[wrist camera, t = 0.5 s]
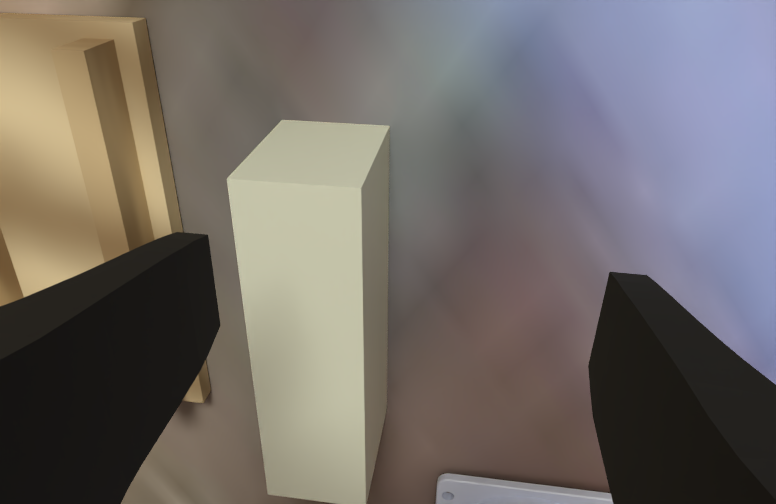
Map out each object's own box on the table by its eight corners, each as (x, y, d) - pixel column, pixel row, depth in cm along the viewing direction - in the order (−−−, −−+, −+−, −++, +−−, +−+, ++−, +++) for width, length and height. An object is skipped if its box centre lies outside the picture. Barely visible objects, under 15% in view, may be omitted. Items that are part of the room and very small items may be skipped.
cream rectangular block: (387, 405, 26) (365, 507, 22) (305, 396, 26) (267, 494, 22) (390, 124, 20) (361, 188, 16) (283, 118, 20) (226, 178, 16)
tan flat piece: (211, 389, 27) (187, 431, 25) (29, 369, 28) (-8, 407, 26) (145, 17, 19) (103, 33, 17) (-100, 9, 20) (-168, 22, 18)
